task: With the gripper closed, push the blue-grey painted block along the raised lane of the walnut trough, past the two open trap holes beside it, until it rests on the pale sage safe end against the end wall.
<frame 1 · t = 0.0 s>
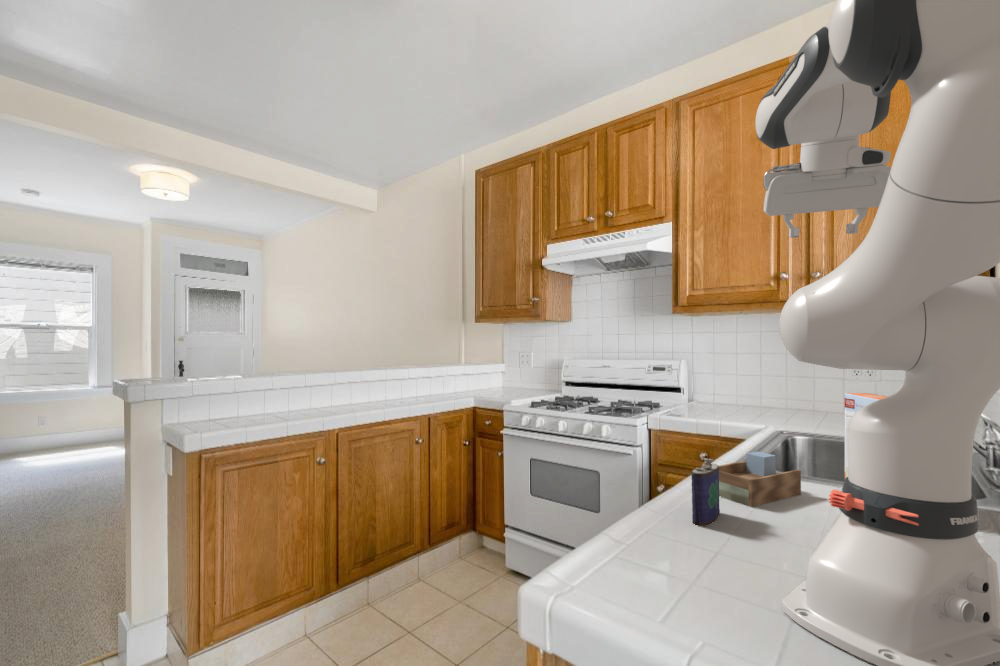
hand: (822, 235, 91), 52 cm above the counter, tool tilted 20°, fingers open, 8 cm apart
block: (761, 472, 102), point 3 cm above the counter, touching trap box
flask: (706, 519, 84), on the counter
cracker box: (879, 504, 92), on the counter
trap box: (753, 493, 98), on the counter
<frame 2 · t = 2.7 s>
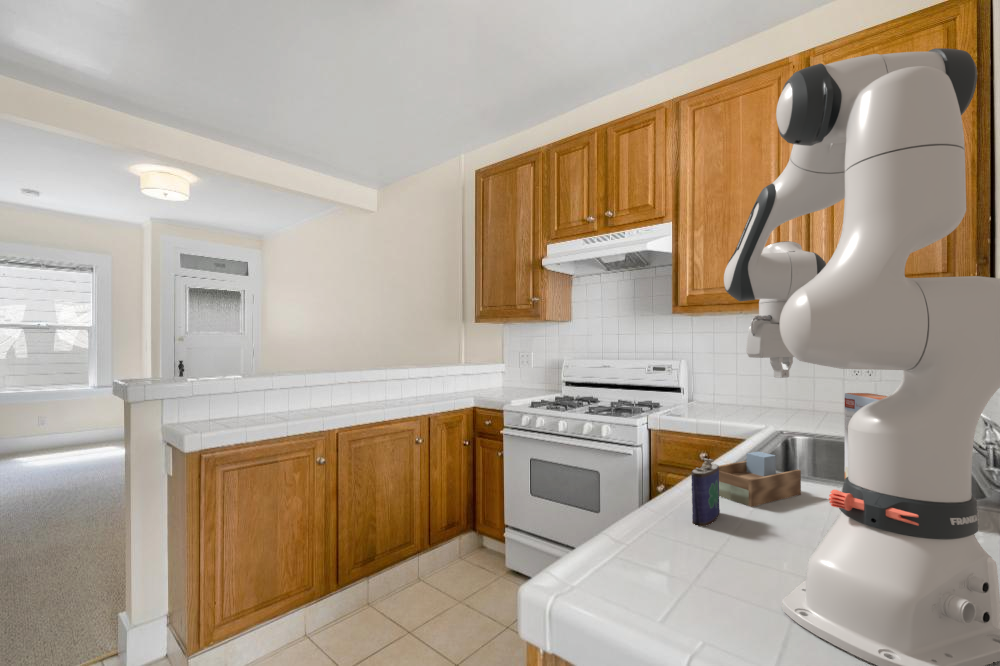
hand: (781, 377, 106), 23 cm above the counter, tool pointing down, fingers closed
nothing on the counter moved.
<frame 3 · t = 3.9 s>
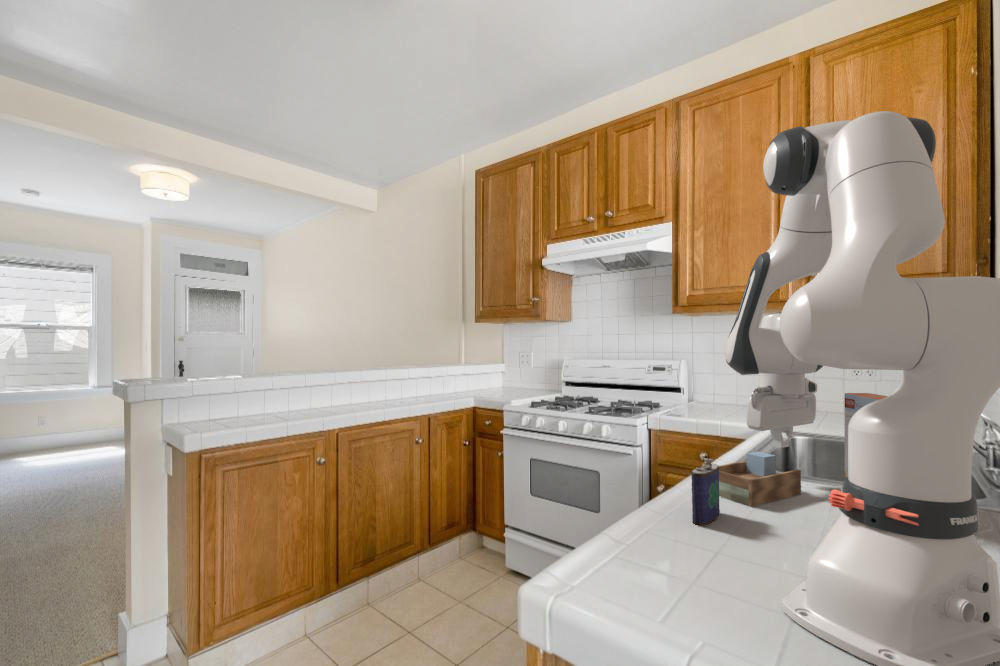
hand: (781, 446, 106), 8 cm above the counter, tool pointing down, fingers closed
nothing on the counter moved.
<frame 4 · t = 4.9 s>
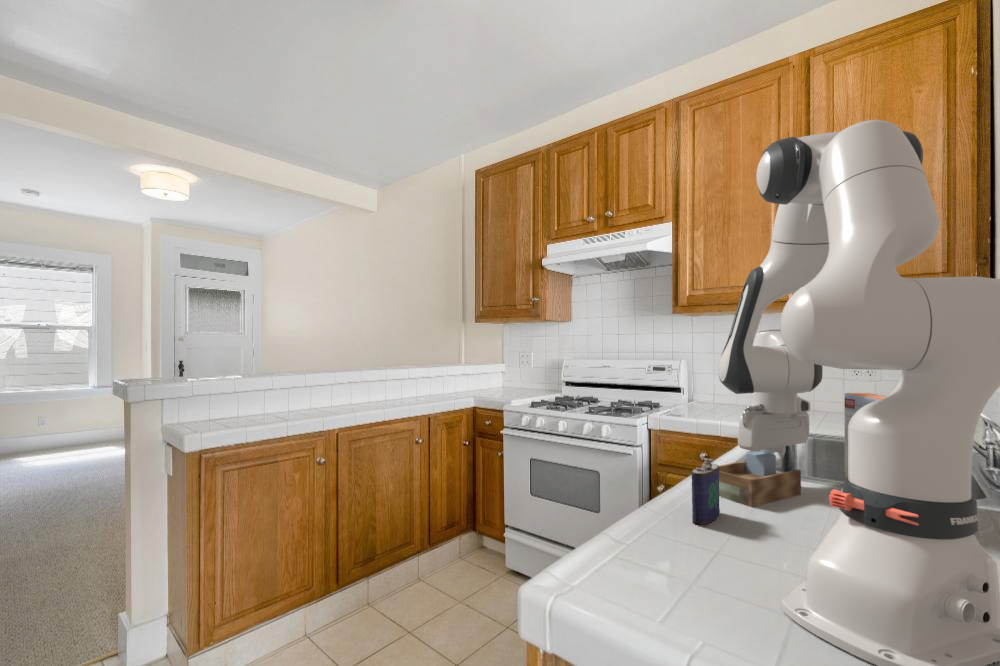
hand: (774, 466, 104), 4 cm above the counter, tool pointing down, fingers closed
block: (761, 472, 102), point 3 cm above the counter, touching gripper, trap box
everything else where it was.
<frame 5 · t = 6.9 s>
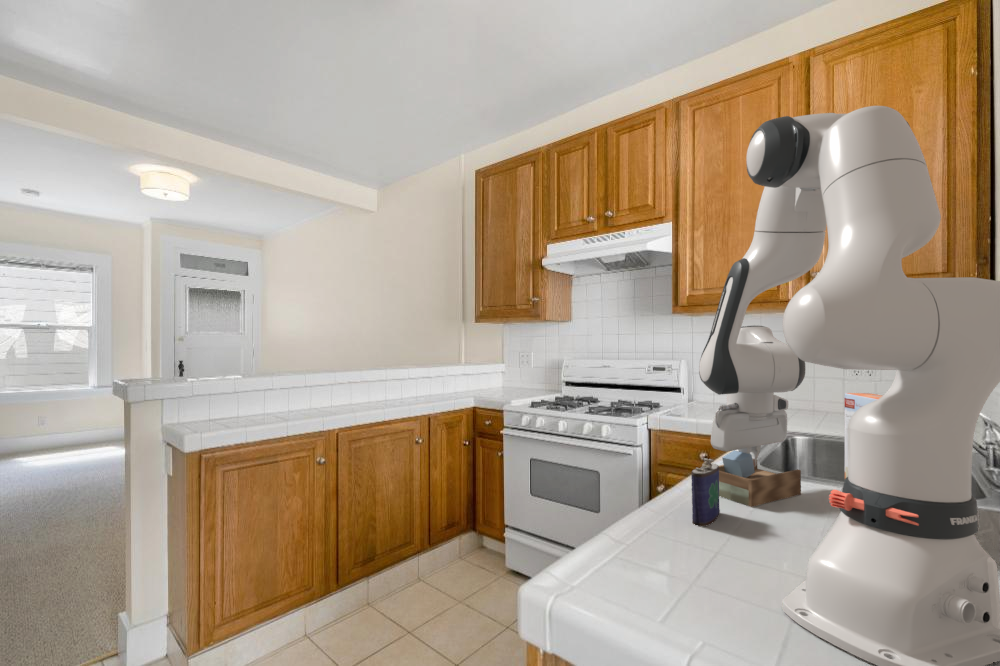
hand: (749, 466, 101), 5 cm above the counter, tool pointing down, fingers closed
block: (740, 473, 99), point 4 cm above the counter, tilted 16°, touching gripper, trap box
everything else where it was.
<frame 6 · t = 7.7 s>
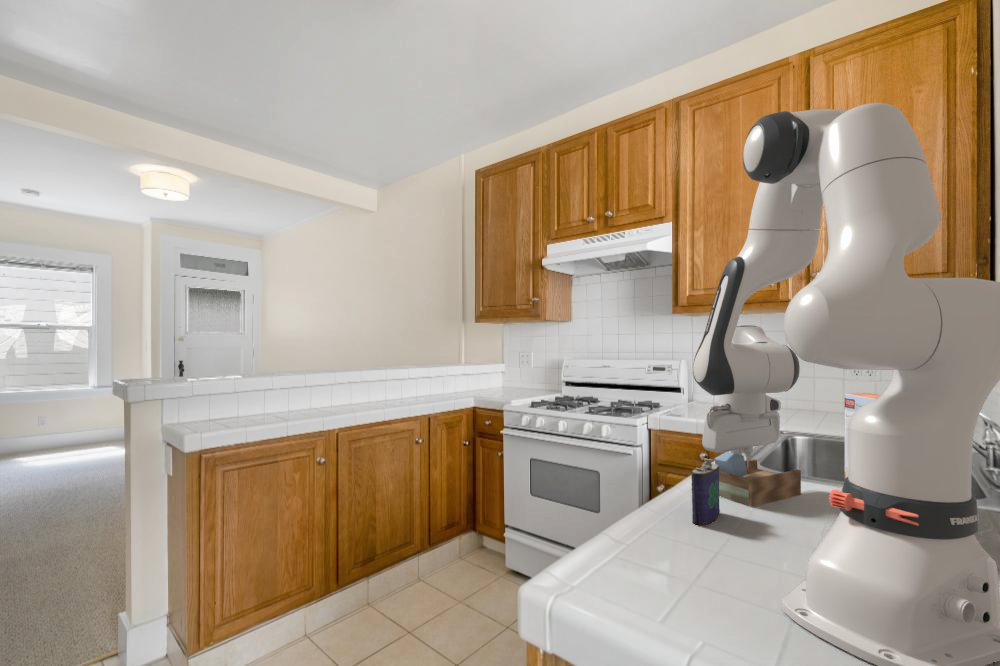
hand: (741, 468, 99), 5 cm above the counter, tool pointing down, fingers closed
block: (732, 475, 98), point 4 cm above the counter, tilted 16°, touching gripper, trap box
everything else where it was.
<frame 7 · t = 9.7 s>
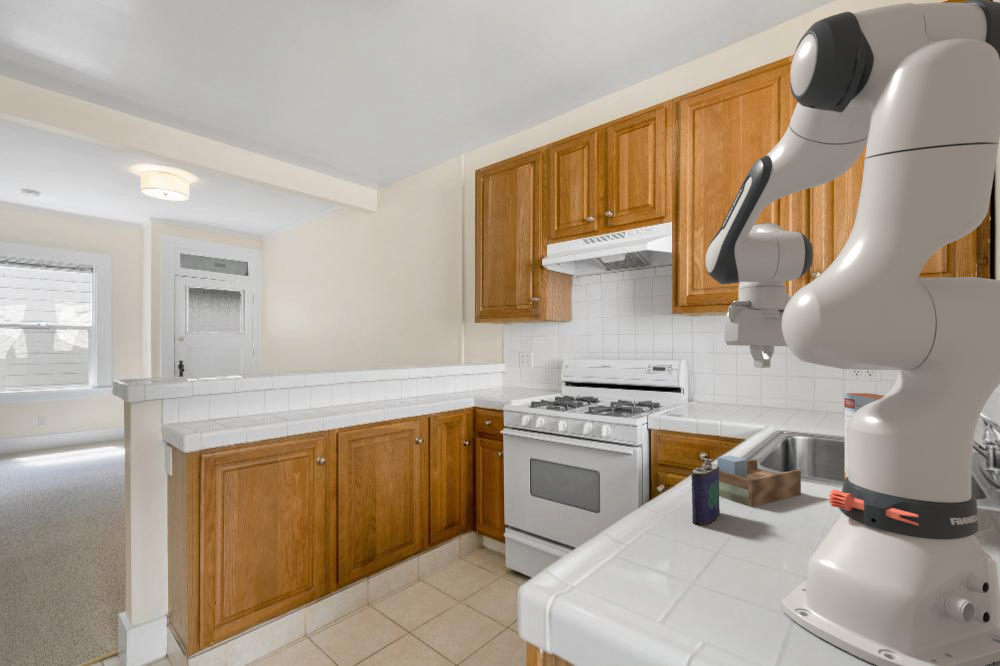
hand: (762, 367, 100), 26 cm above the counter, tool pointing down, fingers closed
block: (732, 477, 98), point 3 cm above the counter, touching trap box
everything else where it was.
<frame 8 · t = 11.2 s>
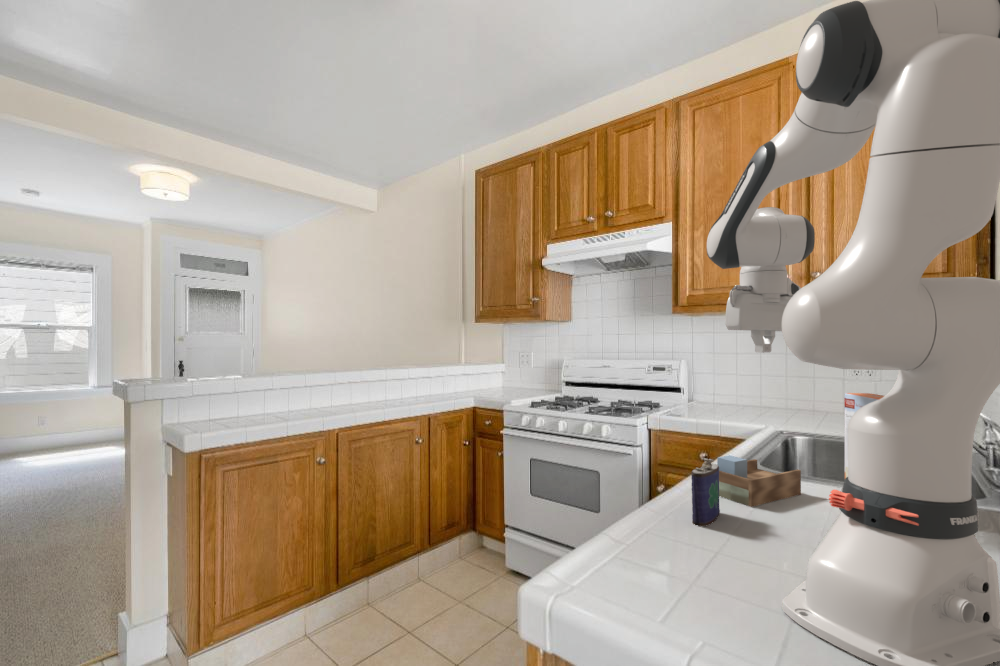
hand: (763, 352, 100), 29 cm above the counter, tool pointing down, fingers closed
nothing on the counter moved.
at the end: block 2.1 cm from the target spot on the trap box, point 3.0 cm above the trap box's base; block tilted 0° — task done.
